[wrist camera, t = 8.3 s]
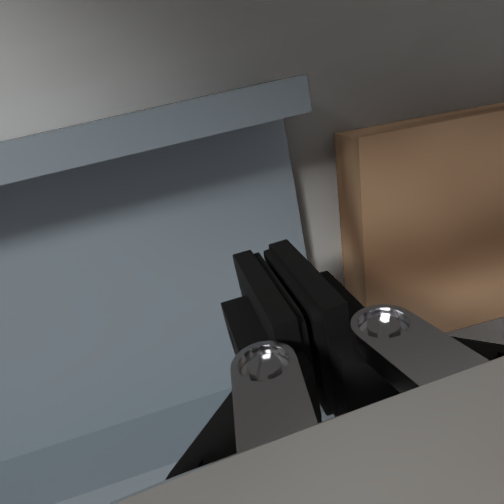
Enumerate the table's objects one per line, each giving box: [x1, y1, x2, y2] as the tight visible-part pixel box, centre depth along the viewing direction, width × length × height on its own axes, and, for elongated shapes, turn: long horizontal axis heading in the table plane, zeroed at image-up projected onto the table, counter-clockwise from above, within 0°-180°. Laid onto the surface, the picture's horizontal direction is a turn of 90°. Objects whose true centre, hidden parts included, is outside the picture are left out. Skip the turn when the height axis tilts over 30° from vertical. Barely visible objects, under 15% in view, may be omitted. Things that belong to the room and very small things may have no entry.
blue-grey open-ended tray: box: [0, 74, 335, 504], centre depth 14 cm, size 13×19×4 cm
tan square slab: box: [334, 102, 504, 333], centre depth 17 cm, size 9×10×2 cm
